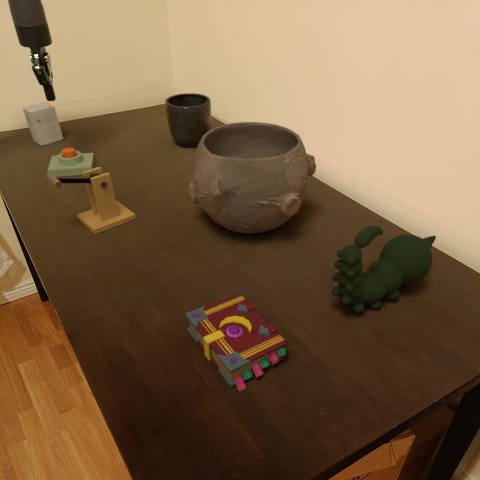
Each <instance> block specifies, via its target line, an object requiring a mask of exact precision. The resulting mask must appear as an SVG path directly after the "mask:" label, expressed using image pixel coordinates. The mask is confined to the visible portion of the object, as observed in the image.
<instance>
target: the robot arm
mask: <svg viewBox="0 0 480 480" xmlns="http://www.w3.org/2000/svg"><path fill="white" fill-rule="evenodd" d="M7 2H8V8H9V13H10V16H11V19H12V23H13V26H14V29H15V33H16V37H17V39H18V44H19V45H20V47H23V48H28V49H29V50H30V54H29V59H30V62H31V64H32V65H31V70H32V72H33V74H34V76H35V78H36V80H37V83H38V84H39V86H42V88H43V92H44V95H45V99H46V102H55V101H56V99H57V96H56V93H55V88H54V80H53V79H54V75H53V68H52V61H51V55H50V53H49V52H47V50H46V49H47V48H46V47H49V46H52V43H53V39H52V34H51V32H50V27H49V24H48V20H47V15H46V11H45V8H44V5H43V2H42V0H7Z"/></svg>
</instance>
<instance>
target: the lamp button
mask: <svg viewBox="0 0 480 480" xmlns="http://www.w3.org/2000/svg"><path fill="white" fill-rule="evenodd" d="M75 151H76V149H75V148H74V147H65V148H62V149H61V153H62V154H63V157H64V158H72V157H75V156H76V152H75Z"/></svg>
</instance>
